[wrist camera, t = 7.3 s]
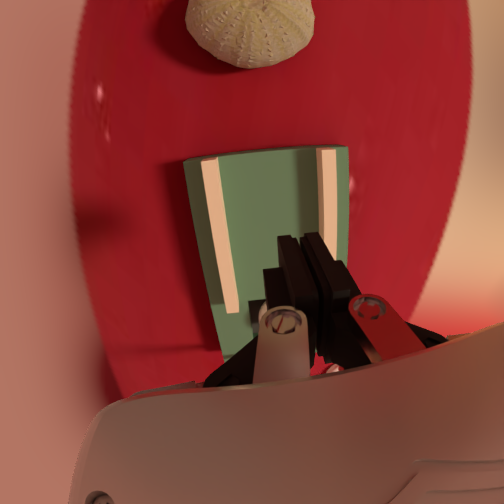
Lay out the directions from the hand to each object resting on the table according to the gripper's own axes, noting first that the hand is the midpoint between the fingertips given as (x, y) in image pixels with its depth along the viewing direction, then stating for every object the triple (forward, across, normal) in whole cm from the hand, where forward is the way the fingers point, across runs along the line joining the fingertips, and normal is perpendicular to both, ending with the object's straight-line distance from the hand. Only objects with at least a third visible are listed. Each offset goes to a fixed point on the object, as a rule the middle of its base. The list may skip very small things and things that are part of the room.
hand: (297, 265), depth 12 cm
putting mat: (+12, 0, +7) cm, 13 cm away
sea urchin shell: (+13, 0, -14) cm, 19 cm away
